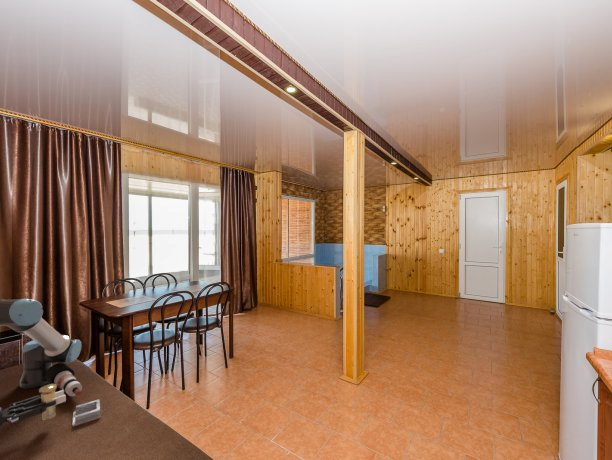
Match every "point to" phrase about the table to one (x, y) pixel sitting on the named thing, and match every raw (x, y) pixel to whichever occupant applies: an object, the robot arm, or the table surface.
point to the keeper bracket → (86, 412)
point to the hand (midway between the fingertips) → (64, 395)
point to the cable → (64, 379)
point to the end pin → (47, 394)
